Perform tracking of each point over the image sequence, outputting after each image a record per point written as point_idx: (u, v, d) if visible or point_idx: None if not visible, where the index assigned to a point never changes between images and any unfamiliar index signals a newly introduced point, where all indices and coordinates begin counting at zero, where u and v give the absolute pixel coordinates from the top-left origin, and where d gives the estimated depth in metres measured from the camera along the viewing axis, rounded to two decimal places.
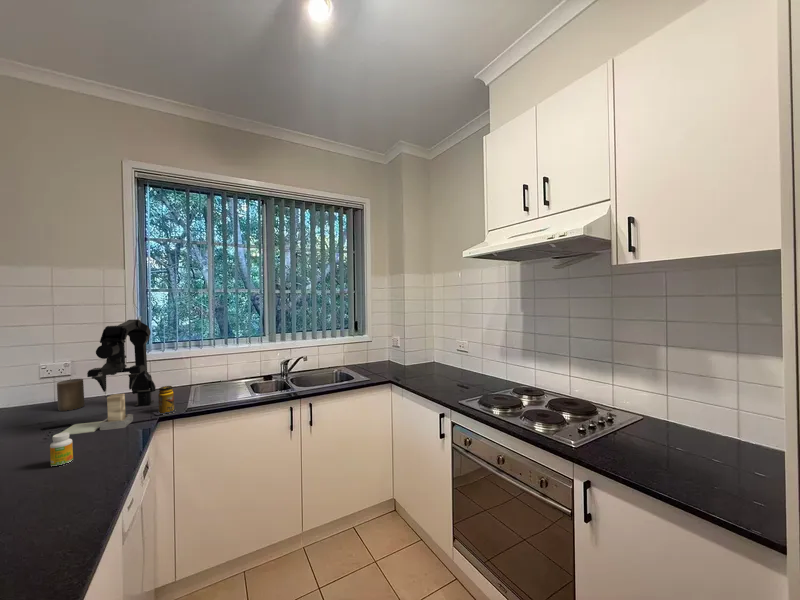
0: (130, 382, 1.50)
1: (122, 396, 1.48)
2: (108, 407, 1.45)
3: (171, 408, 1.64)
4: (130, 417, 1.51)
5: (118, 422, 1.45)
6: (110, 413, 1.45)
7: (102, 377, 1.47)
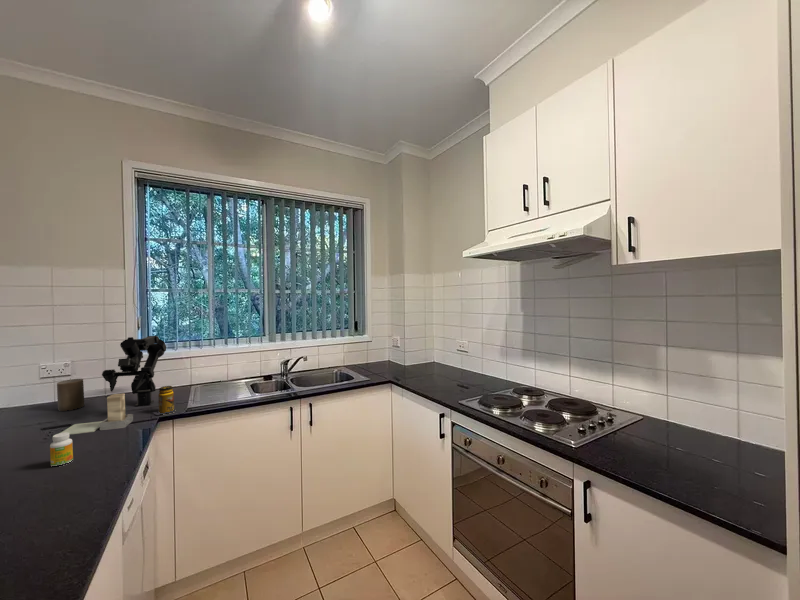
0: (138, 381, 1.57)
1: (122, 396, 1.48)
2: (108, 407, 1.45)
3: (171, 408, 1.64)
4: (130, 417, 1.51)
5: (118, 422, 1.45)
6: (110, 413, 1.45)
7: (114, 378, 1.57)
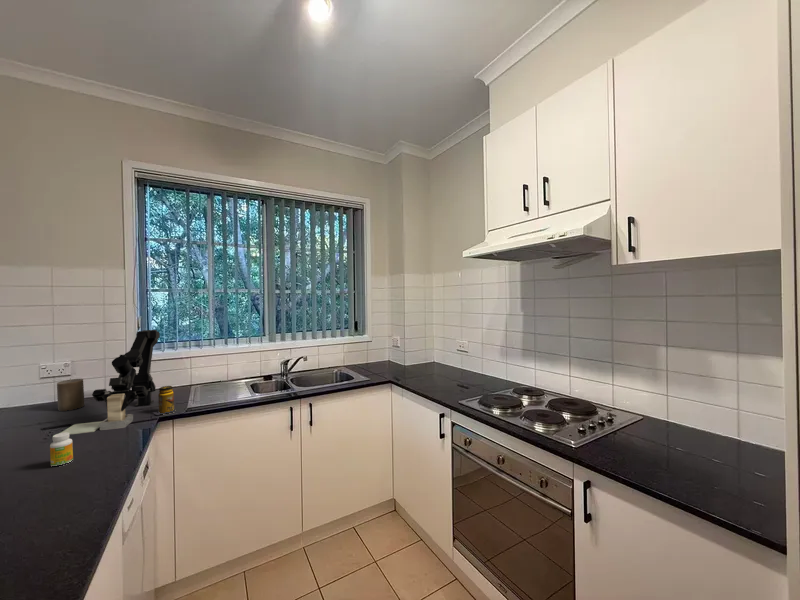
0: (124, 402, 1.49)
1: (122, 396, 1.48)
2: (108, 407, 1.45)
3: (171, 408, 1.64)
4: (130, 417, 1.51)
5: (118, 422, 1.45)
6: (110, 413, 1.45)
7: None
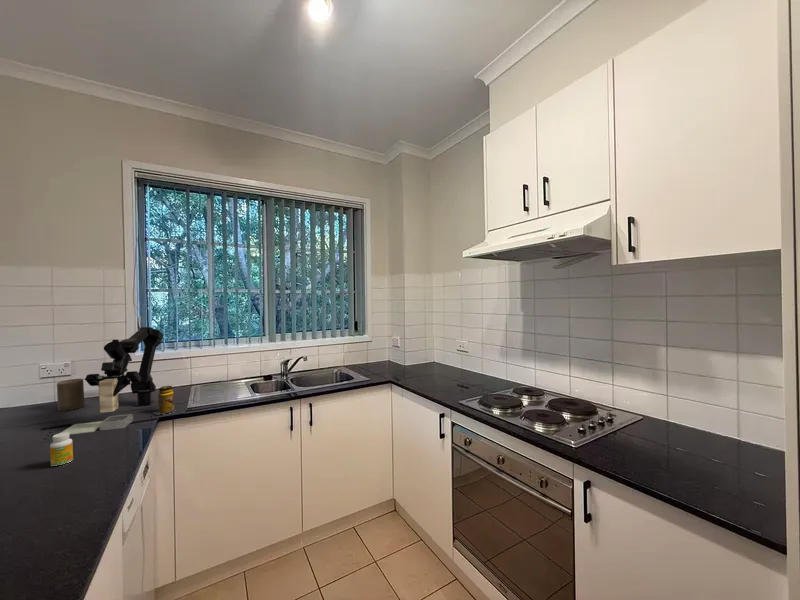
0: (116, 387, 1.48)
1: (114, 381, 1.47)
2: (100, 392, 1.44)
3: (171, 408, 1.64)
4: (130, 417, 1.51)
5: (118, 422, 1.45)
6: (102, 398, 1.44)
7: None
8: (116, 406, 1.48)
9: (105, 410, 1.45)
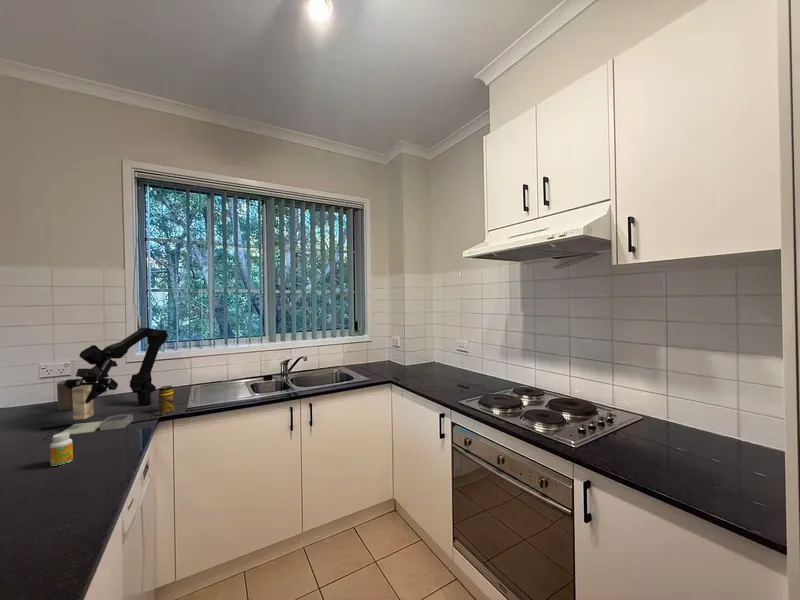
0: (90, 394, 1.45)
1: (88, 388, 1.45)
2: (73, 398, 1.43)
3: (171, 408, 1.64)
4: (130, 417, 1.51)
5: (118, 422, 1.45)
6: (75, 404, 1.43)
7: None
8: (90, 413, 1.46)
9: (78, 417, 1.43)
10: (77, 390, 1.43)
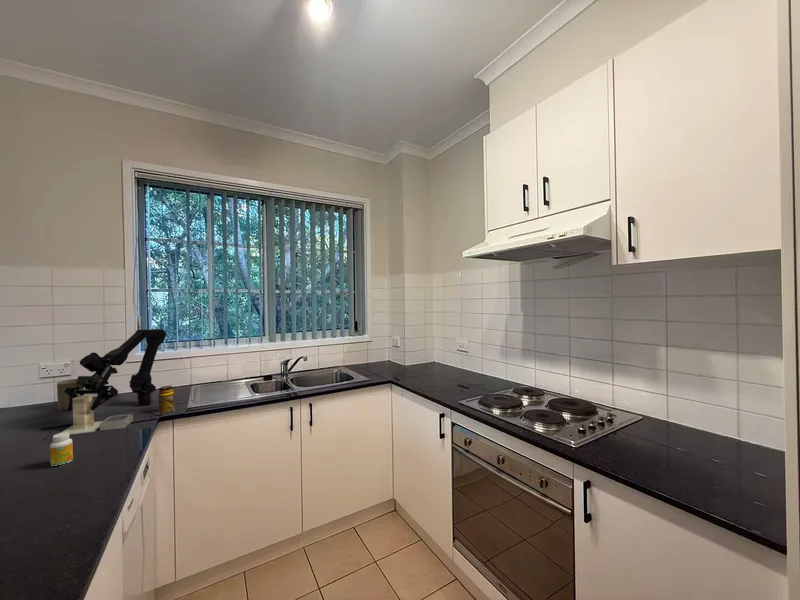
0: (95, 401, 1.45)
1: (88, 398, 1.45)
2: (74, 408, 1.43)
3: (171, 408, 1.64)
4: (130, 417, 1.51)
5: (118, 422, 1.45)
6: (75, 415, 1.43)
7: (76, 396, 1.48)
8: (90, 423, 1.46)
9: (78, 427, 1.43)
10: (77, 400, 1.43)
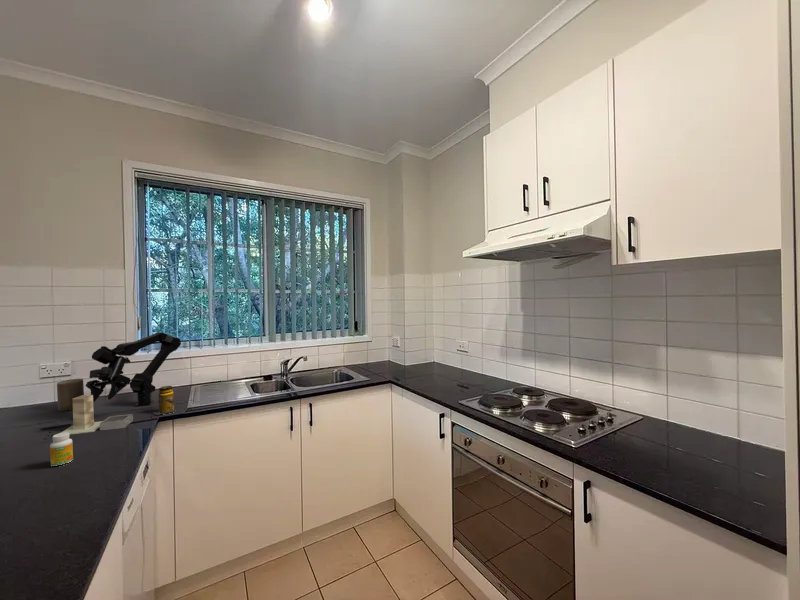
0: (110, 391, 1.53)
1: (88, 398, 1.45)
2: (74, 408, 1.43)
3: (171, 408, 1.64)
4: (130, 417, 1.51)
5: (118, 422, 1.45)
6: (75, 415, 1.43)
7: (97, 389, 1.58)
8: (90, 423, 1.46)
9: (78, 427, 1.43)
10: (77, 400, 1.43)
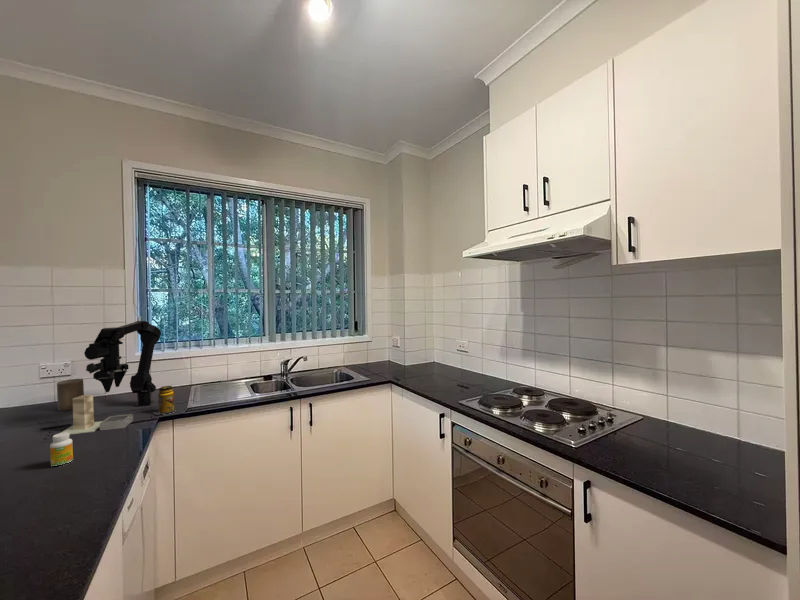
0: None
1: (88, 398, 1.45)
2: (74, 408, 1.43)
3: (171, 408, 1.64)
4: (130, 417, 1.51)
5: (118, 422, 1.45)
6: (75, 415, 1.43)
7: (117, 373, 1.62)
8: (90, 423, 1.46)
9: (78, 427, 1.43)
10: (77, 400, 1.43)
